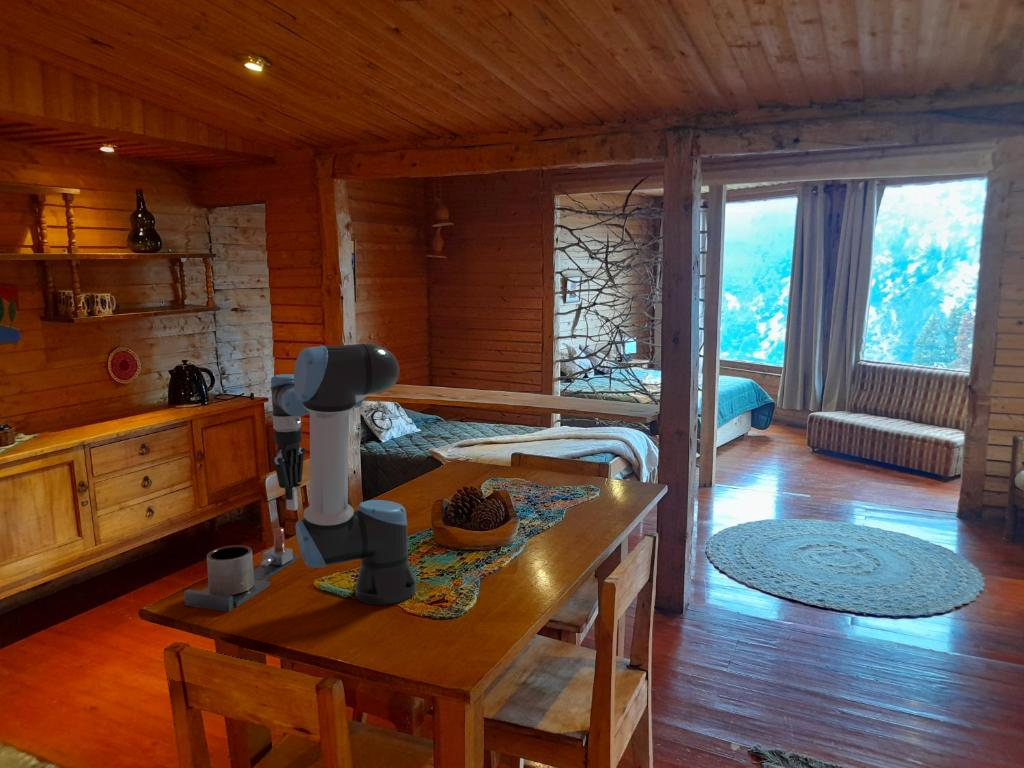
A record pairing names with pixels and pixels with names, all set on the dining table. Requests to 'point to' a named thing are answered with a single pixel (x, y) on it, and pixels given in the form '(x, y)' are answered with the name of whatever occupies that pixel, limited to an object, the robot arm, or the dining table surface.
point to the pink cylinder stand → (277, 550)
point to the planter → (230, 570)
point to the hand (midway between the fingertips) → (292, 509)
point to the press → (228, 601)
